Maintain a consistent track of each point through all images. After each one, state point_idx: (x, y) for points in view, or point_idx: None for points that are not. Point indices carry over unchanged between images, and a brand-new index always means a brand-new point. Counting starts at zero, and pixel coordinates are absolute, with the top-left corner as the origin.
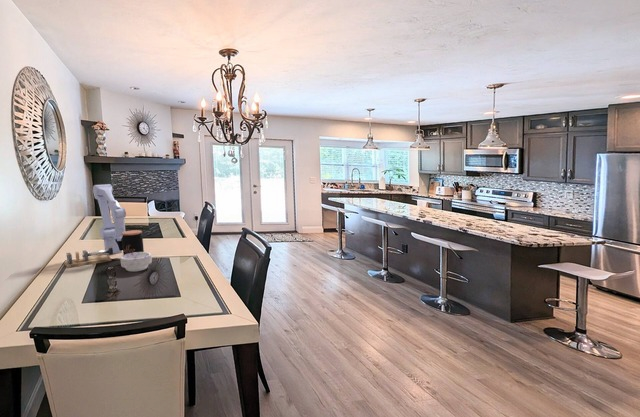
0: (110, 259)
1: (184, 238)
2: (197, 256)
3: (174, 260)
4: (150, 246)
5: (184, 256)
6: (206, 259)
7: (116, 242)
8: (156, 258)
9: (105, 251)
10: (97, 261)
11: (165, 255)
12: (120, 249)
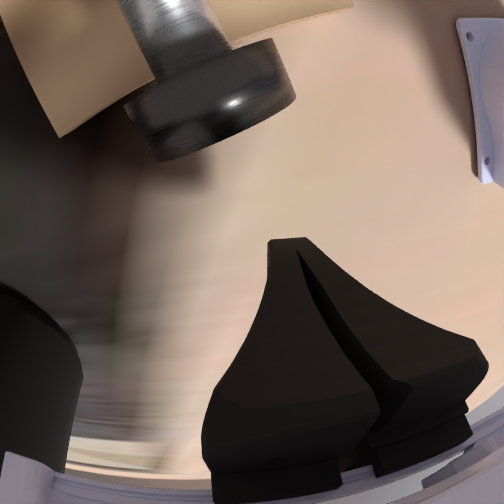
0: (60, 126)
1: (496, 388)
2: (151, 473)
3: (91, 444)
4: (492, 328)
5: (157, 461)
6: (109, 474)
7: (236, 361)
8: (129, 416)
9: (125, 15)
10: (5, 8)
11: (196, 435)
12: (268, 264)
